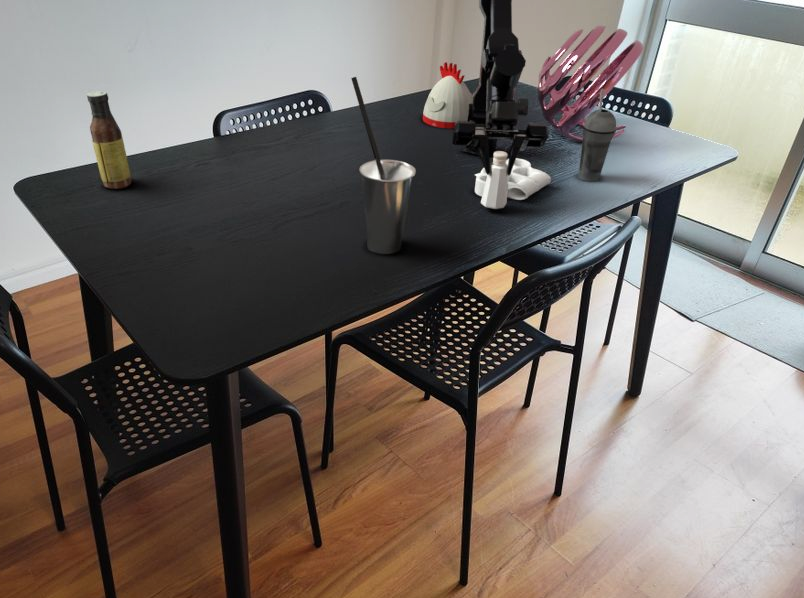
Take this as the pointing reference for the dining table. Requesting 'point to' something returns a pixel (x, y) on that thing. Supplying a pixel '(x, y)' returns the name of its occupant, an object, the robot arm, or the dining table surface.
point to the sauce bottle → (108, 143)
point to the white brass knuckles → (517, 180)
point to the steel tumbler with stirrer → (384, 194)
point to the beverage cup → (596, 142)
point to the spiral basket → (584, 78)
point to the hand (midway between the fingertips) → (498, 174)
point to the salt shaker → (496, 182)
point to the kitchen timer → (447, 99)
